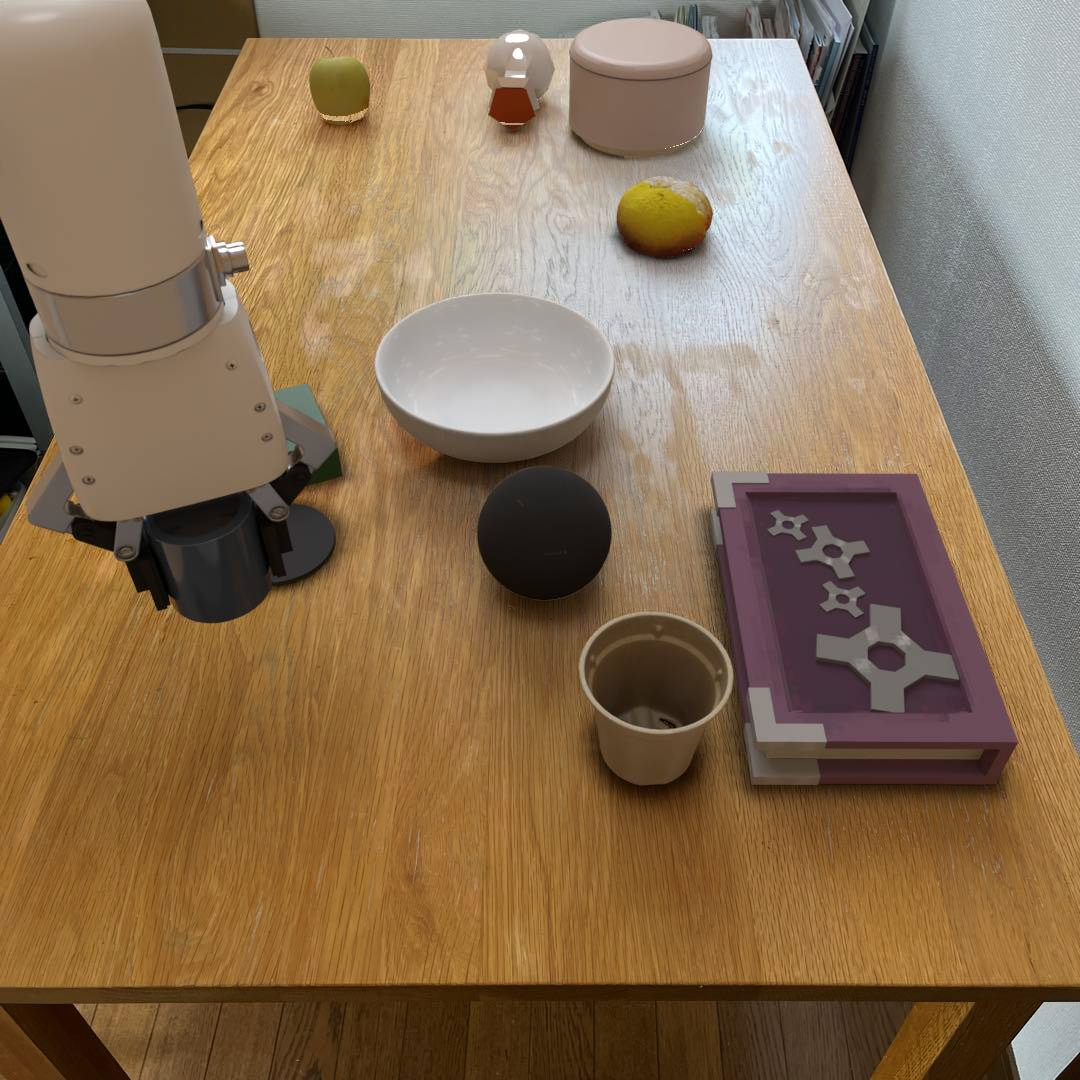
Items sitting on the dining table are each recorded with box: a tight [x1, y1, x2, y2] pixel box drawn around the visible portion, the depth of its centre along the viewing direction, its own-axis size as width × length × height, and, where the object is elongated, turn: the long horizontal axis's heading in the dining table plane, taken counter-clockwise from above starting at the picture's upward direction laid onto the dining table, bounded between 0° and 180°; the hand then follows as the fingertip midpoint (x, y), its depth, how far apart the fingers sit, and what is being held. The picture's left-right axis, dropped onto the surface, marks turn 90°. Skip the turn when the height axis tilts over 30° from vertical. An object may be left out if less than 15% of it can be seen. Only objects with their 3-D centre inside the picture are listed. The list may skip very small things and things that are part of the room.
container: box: [568, 17, 713, 158], centre depth 134 cm, size 18×18×12 cm
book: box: [709, 470, 1019, 786], centre depth 75 cm, size 25×16×5 cm, turn 0°
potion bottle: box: [483, 28, 556, 133], centre depth 140 cm, size 9×10×15 cm
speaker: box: [476, 465, 613, 602], centre depth 77 cm, size 10×10×10 cm
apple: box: [308, 45, 371, 126], centre depth 138 cm, size 8×8×10 cm
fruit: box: [616, 175, 714, 259], centre depth 117 cm, size 11×10×8 cm
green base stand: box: [273, 382, 344, 487], centre depth 89 cm, size 14×10×5 cm
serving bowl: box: [373, 292, 616, 464], centre depth 93 cm, size 21×21×7 cm
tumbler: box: [143, 491, 273, 624], centre depth 56 cm, size 6×6×6 cm
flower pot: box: [578, 610, 734, 787], centre depth 67 cm, size 9×9×9 cm
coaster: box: [271, 503, 337, 587], centre depth 83 cm, size 9×9×1 cm
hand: (218, 573), depth 57 cm, fingers closed on tumbler, 5 cm apart
